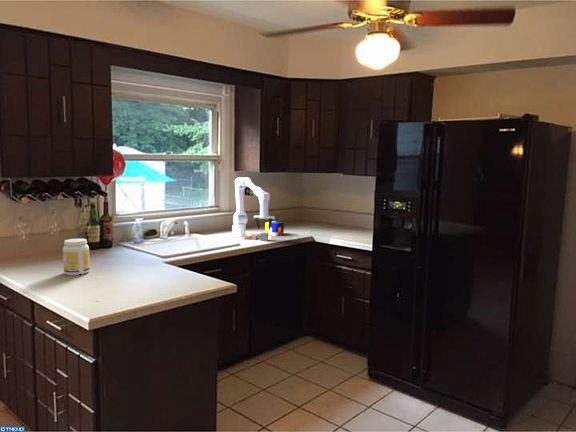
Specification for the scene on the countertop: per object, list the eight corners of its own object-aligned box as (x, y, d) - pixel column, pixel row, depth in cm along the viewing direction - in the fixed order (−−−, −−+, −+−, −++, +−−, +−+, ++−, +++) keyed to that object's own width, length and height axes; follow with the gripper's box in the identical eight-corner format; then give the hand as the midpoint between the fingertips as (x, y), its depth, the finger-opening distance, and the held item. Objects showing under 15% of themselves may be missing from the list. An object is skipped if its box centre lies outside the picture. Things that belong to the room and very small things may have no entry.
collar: (244, 240, 335) (244, 235, 335) (246, 238, 343) (246, 234, 343) (255, 240, 334) (255, 236, 334) (257, 238, 342) (257, 234, 341)
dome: (246, 239, 336) (246, 233, 336) (248, 238, 341) (248, 232, 341) (253, 239, 336) (253, 233, 335) (255, 238, 341) (255, 232, 340)
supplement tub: (83, 268, 247) (81, 237, 245) (94, 272, 239) (93, 240, 237) (59, 273, 238) (57, 240, 236) (70, 277, 230) (68, 243, 228)
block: (259, 240, 330) (259, 233, 330) (261, 239, 335) (261, 232, 335) (266, 240, 330) (266, 233, 329) (268, 239, 334) (268, 232, 334)
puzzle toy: (275, 237, 350) (275, 223, 349) (265, 235, 356) (265, 222, 355) (283, 235, 358) (283, 222, 357) (273, 233, 364) (273, 221, 363)
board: (257, 241, 329) (257, 240, 329) (263, 237, 349) (263, 236, 349) (268, 242, 328) (268, 241, 328) (273, 237, 348) (273, 236, 348)
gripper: (252, 210, 326) (252, 229, 328) (273, 210, 324) (273, 230, 326) (254, 209, 333) (254, 227, 335) (275, 209, 331) (274, 228, 333)
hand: (264, 229), depth 331 cm, fingers open, 7 cm apart
